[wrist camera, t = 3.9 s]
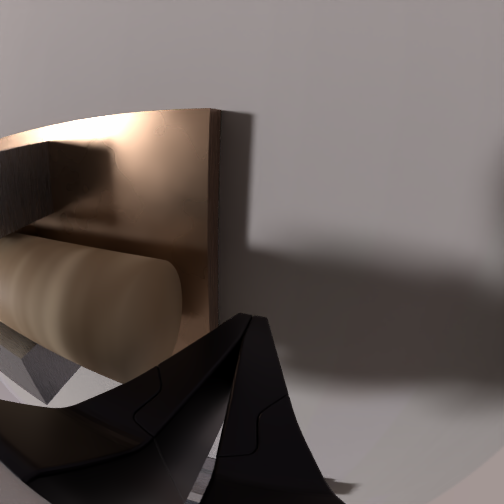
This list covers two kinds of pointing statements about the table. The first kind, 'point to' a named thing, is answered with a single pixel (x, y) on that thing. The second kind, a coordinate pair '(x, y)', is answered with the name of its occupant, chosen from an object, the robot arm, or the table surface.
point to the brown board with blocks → (116, 211)
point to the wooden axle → (91, 303)
